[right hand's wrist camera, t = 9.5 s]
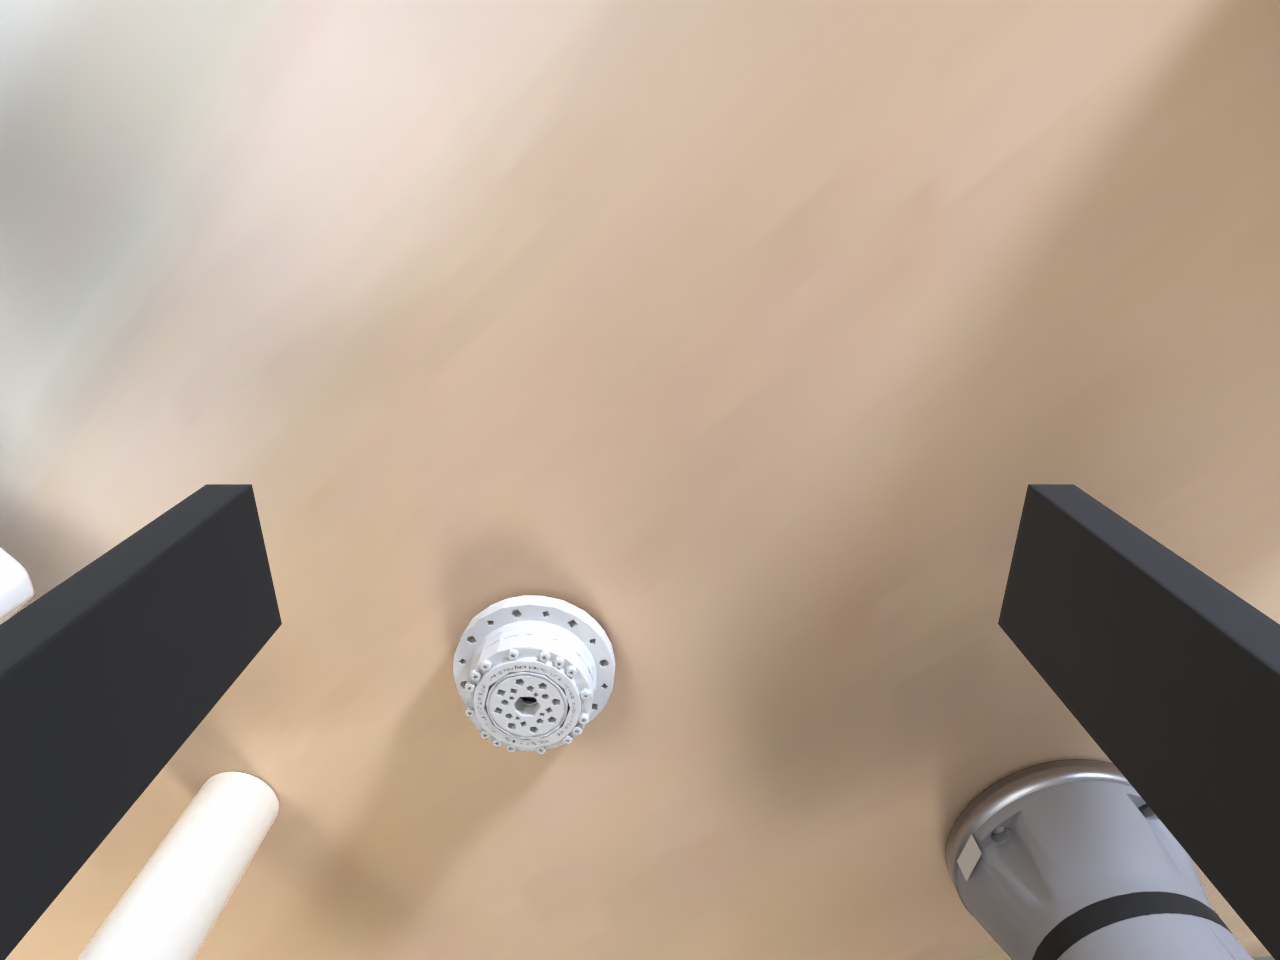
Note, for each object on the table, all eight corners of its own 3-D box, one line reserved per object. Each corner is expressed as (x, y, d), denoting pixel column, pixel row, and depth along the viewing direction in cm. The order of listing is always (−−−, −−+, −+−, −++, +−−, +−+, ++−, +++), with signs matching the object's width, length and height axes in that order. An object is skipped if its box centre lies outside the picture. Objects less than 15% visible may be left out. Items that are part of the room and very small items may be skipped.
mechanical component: (509, 563, 43) (429, 676, 46) (495, 603, 39) (409, 724, 42) (646, 643, 45) (561, 746, 49) (646, 688, 41) (553, 798, 44)
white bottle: (287, 784, 50) (98, 1105, 33) (271, 838, 52) (84, 1168, 34) (207, 761, 49) (-29, 1077, 32) (194, 816, 51) (-36, 1143, 34)
